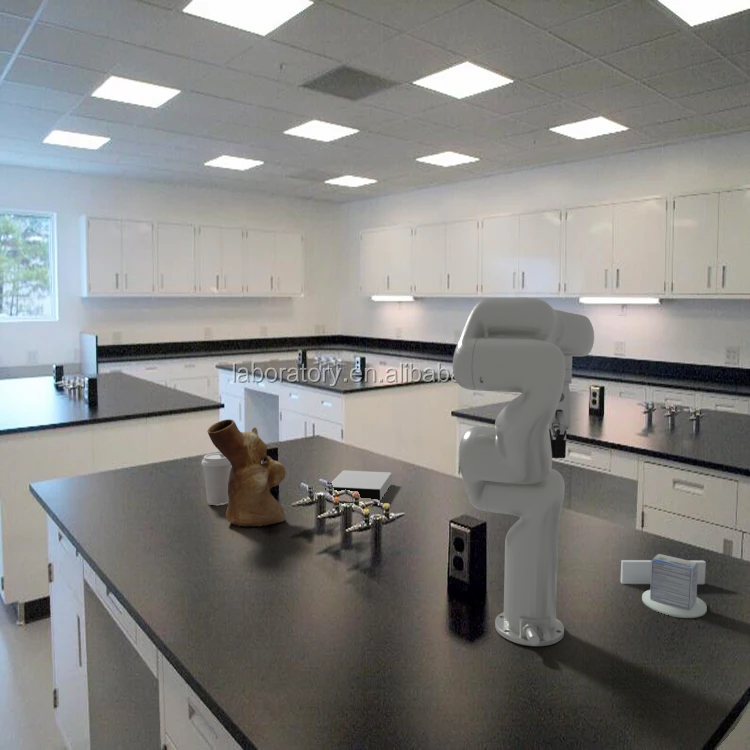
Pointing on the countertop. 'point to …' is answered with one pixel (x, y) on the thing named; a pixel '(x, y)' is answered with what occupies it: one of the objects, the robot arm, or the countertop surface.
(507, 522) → the countertop surface
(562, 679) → the countertop surface
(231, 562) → the countertop surface
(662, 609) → the pad
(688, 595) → the medicine box
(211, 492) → the coffee cup
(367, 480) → the disc drive
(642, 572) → the acrylic wall
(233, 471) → the ceramic vessel
